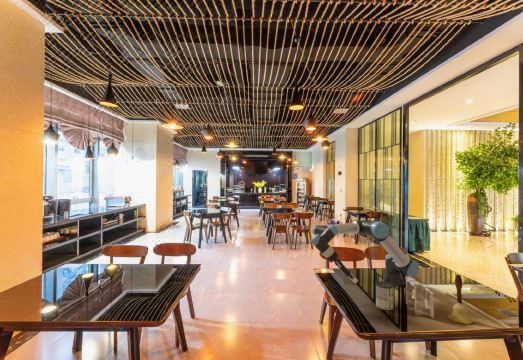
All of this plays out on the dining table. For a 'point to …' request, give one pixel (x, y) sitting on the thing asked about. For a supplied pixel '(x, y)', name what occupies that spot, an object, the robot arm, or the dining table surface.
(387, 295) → the coffee can
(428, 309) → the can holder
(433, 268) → the dining table surface
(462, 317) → the handbell
